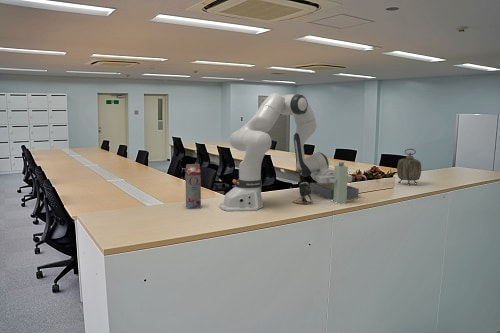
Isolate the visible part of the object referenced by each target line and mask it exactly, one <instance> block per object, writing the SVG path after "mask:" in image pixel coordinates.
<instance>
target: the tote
mask: <svg viewBox="0 0 500 333" xmlns="http://www.w3.org/2000/svg"><path fill="white" fill-rule="evenodd" d="M316 183H317V182H310V183H309V185H310V187H311V191H312V192H311V193H314V194H316V195H318V196H321V197H324V198H326V199H329V200H333V198H334V190H330V189H327V188H324V187H322V186H319V185H316ZM359 191H360V190H359V188H358V187H354V186H350V185H349V184H347V199H356V200H359V195H360V194H359Z"/></svg>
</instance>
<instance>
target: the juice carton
mask: <svg viewBox="0 0 500 333" xmlns="http://www.w3.org/2000/svg"><path fill="white" fill-rule="evenodd" d="M200 166H201V165H200V163H192V164H190V163H189V164H188V163H187V164H186V165H185V208H186V209H187V210H195V209H196V210H199V209H200V210H201V209H202V193H201V192H202V189H201V188H202V183H201V181H202V178H201V176H202V175H201V173H202V171H201V167H200Z"/></svg>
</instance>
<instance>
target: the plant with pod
mask: <svg viewBox="0 0 500 333" xmlns="http://www.w3.org/2000/svg"><path fill="white" fill-rule="evenodd" d="M301 171H302V169H301V168H300V167H297V169H296V168H295V174H298V176H299V178H301V175H300V174H301ZM298 190H299V196H300V197H298V198H297V199H296V200H293V201H292V203H295V204H296V203H297V204H301V205H302V204H303V205H309V204H308V203H310V204H311V202H313V199H312V198H311V194H312V193H313V192H312V191H311V187H310V183H309V182H307V181H303V182H301V179H299V184H298ZM306 196H308V198H309V199H310V201H311V202H310V201H309V200H307V199H306Z"/></svg>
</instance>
